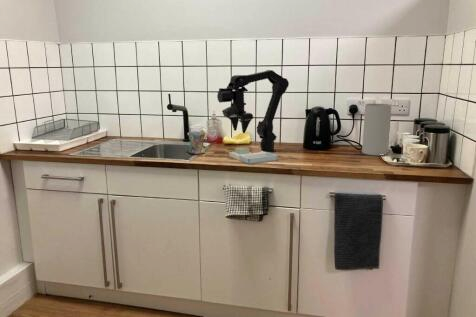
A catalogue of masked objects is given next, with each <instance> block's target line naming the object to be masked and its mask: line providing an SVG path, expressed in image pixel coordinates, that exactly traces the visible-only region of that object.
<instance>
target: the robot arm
mask: <svg viewBox="0 0 476 317" xmlns="http://www.w3.org/2000/svg"><path fill="white" fill-rule="evenodd" d="M263 80H268V81H269V83H270V84H271V90H272V91H271V92H272V93H271V97H270V101H269V103H268V105H267V109H266V112H265V114H264V117H263V120H259V121H258V123H257V126H256V133H257V135H258V136H259V137H258V138H259V139H261V140H260V144H259V145H260V146H259V147H261V151H264V152H270V153H272V152H275V151H276V149H275V141H276V140H277V135H276V134H275V132H273V131H274V119H275V116H276V113H277V111H278V108H279V104H280V101H281V98H282V96H283V95H284V94H285V92H286V91H287V90H288V88H289V84H290V83H289V80H288V79H287V78H286V77H283V76H281V75H280V74H279V73H276V71H274V70H273V69H267V70H263V71H259V72H255V73H254V72H253V73H251V74H241V75H240V74H237V75H235V74H234V75H232V76H231V78H230V81H229V82H228V84H227V86H226V88H225V87H224V88H222V87H221V88H218V92H217V95H216V97H217V101H218V103H220V104H221V103H230V106H229V107H226V108H224V109H222V110H221V112H222V114H223V117H224V118H227V119H228V120H230V123H231V124H232V128H233V131H237V130H238V125H239V122H240V123H241V132H242V134H245V133H246V132H247V129H248V127H249V125H250V123H251V121H252V120H253V119H254V115H253V113H251V112H247V111H246V110H245V106H246V105H247V103H246V102H245V92H248V91H249V90H248V89H247V88H246V87H245V86H248V85H249V84H251V83H254V82H255V83H256V82H259V81H263Z"/></svg>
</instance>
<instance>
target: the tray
mask: <svg viewBox="0 0 476 317" xmlns="http://www.w3.org/2000/svg"><path fill="white" fill-rule="evenodd" d="M278 158H279V155H278V154H275V153H272V152H267V156H265V157H257V158H246V157H244V156H241V155H239V160H238V161H240V162H242V163H245V164H247V165H254V164H261V163H269V162H275V161H278Z"/></svg>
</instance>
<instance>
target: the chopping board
mask: <svg viewBox="0 0 476 317" xmlns="http://www.w3.org/2000/svg"><path fill="white" fill-rule="evenodd" d="M239 155H240V154H237V153H235V150H234V151H229V152H228V156H229V157H231V158H234V159H235V160H238V161H240V160H239ZM241 156H244V157H246V158H257V157H265V156H267V152H264V151H261V152H258V153H251V152H249V154H241Z"/></svg>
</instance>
